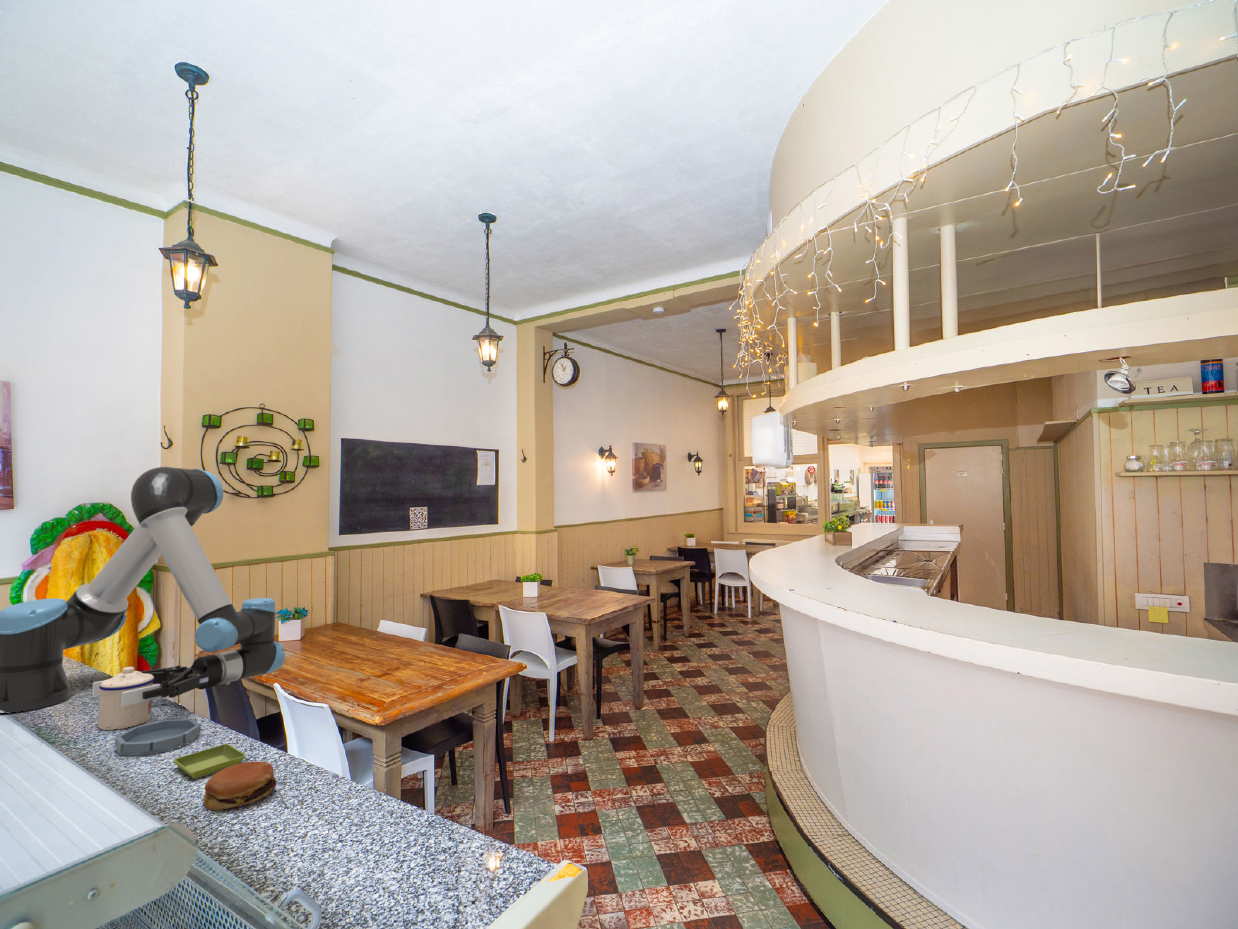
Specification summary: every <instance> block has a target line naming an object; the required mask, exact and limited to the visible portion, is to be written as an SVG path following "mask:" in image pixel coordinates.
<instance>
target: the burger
mask: <svg viewBox="0 0 1238 929" xmlns="http://www.w3.org/2000/svg"><path fill="white" fill-rule="evenodd" d="M274 771H275V770H274V766H273V764H272V763H270V761H247V762H240V763H239V764H236V765H233V766H230V767H227V768H225V769H223V770H221V771H218V772H215V773H213V775H212V776H211V777H210V778H208V780H207V782H206V784H205V786H204V791H205V793H204V796H203V805H204V807H206V808H207V809H208V808H209V809H208V810H210V811H215V810H216V811H224V810H223V809H226V810H228V809H229V808H230V809H233V808H234V807H235V808H237V807H238V806H239V807H241V806H240V805H244V806H247V805H246V804H248V805H250V804H253V802H254V801H256V802H257V801H259V800H261V799H263V798H265V797H266V796H267V797H268V796H269V794H271V792H273V789H275V788H276V786H277V780H276V777H275V775H274ZM262 797H263V798H262ZM254 803H255V802H254Z"/></svg>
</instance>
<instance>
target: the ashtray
mask: <svg viewBox="0 0 1238 929" xmlns="http://www.w3.org/2000/svg"><path fill="white" fill-rule="evenodd" d="M201 726H202V723H200V722H198V721H197V720H195V719H194V718H193V719H192V718H180V719H178V718H177V719H166V720H165V719H164V720H163V719H162V720H159V721H155V722H151V723H144V724H140V725H137V726H135V727H130V728H129V729H128V730H126V731H124V732H122V733H120V734H118V735H116V736H115V737H114V747H115V748H116V754H117V753H118V754H117V755H119V756H122V757H128V756H137V757H146V756H153V754H154V755H157V754H156V753H159V754H163V753H162V752H164V753H166V752H165V751H168V750H171V749H174V750H176V749H175V748H177V747H179V746H183V747H185V746H186V745H185V744H187V743H190V744H192V743H193V742H194V741H195V739H196V740H197V738H199V734H200V733H201ZM192 741H193V742H192ZM184 745H185V746H184ZM171 751H172V750H171ZM168 752H169V751H168Z"/></svg>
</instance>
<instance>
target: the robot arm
mask: <svg viewBox="0 0 1238 929" xmlns="http://www.w3.org/2000/svg"><path fill="white" fill-rule="evenodd" d="M223 488H224V487H223V484H222V482H221V480H220V479H219V478H218V476H216V475H215V474H214V473H212V472H211V471H207V470H202V469H199V468H190V469H189V468H182V467H181V468H180V467H179V468H178V467H169V466H159V467H154V468H151V469H149V470H147V471H144V472H143V473H142V474H141V475H140V476H139V477H138V478H136V480H135V481H134V483H133V485H132V488H131V492H130V502H131V508H132V511H133V513H134V516H135V518H136V520H137V522H138V524H137V526H136V527H135V528H134V529H133V530H132V531H131V532H130V534H129V535H128V537H127V538H125V540H124V541H123V542H122V544H121V545H120V546H119V548H118V549H117V550H116V552H115V553H114V554H113V555H112V556H111V558H110V559H109V560H108V561H107V562H106V564H105V565H104V566H103V567H102V569H100V571H99V572H98V574H97V575H96V576H95V577H94V578H93V579H92V581H91V582H90V583H85V584H81V585H80V586H78V587H77V589H76V590H75V591H74V592H73V594H72V595H71V596H70V597H69V599H67V600H65V599H63V598H56V597H55V598H44V599H43V598H42V599H37V600H35V599H34V600H29V601H24V602H18V603H15V604H13V605H12V604H11V605H9V606H7V607H5V608H3V609H2V610H1V611H0V710H3V711H5V712H9V713H8V714H13V713H12V712H16V713H22V712H21V711H23V712H27V711H34V710H39V709H42V708H46V707H51V706H54V705H57V704H60V703H63V702H65V701H66V700H68V699H70V697H71V692H72V691H71V688H72V687H71V684H70V682H69V679H68V676H67V674H66V671H65V669H64V666H63V665H64V664H63V661H64V660H63V658H64V650H68V649H73V648H76V647H80V646H85V645H89V644H92V643H98V642H100V641H103V640H105V639H107V638H109V637H112V636H114V635H115V634H116V633H118V632H119V631H120V630H121V629H122V628H123V626H124V625H125V622H126V620H127V617H128V616H127V615H126V613H127V612H128V609H127V608H128V606H129V601H128V597H129V596H130V595H131V593H132V592H133V591H134V589H135V588H136V587H137V585H139V583H140V582H141V580H143V578H144V577H145V576H146V574H147V573H148V572H149V571H150V570H151V569H152V567H153V566H154V565H155V563H156V562H157V561H158V560H159V559H160V557H161V556H162V558H163V559H164V561H165V563H166V565H167V567H168V568H169V571H170V572H171V574H172V576H173V578H174V580H175V581H176V583H177V585H178V587H179V590H180V591H181V593H182V595H183V597H184V598H185V600H186V602H187V604H188V606H189V608H190V610H191V612H192V613H193V616H194V617H195V619H196V621H197V623H198V627H197V628H196V629H195V635H194V636H195V639H194V641H195V643H196V646H198V648H199V649H200V650H202V651H204V652H206V653H207V652H209V653H213V652H218V653H215V654H209V655H203V656H199V657H197V658H196V659H195V660H193V663H192V664H191V666H190V667H188V666H182V665H175V666H171V667H163V668H155V669H148V670H139V672H141V673H144V674H151V675H153V677H154V681H153V685H152V686H148V687H144V688H139V689H135V690H130V691H126V692H122V700H121V706H127V705H131V704H135V703H139V702H143V701H147V700H151V699H152V700H154V699H158V698H159V699H160V697H161V698H166V697H168V698H171V699H173V698H175V697H176V698H177V696H180V695H182V694H185V693H188V692H191V691H193V690H195V689H198V690H205V689H209V688H212V687H216V686H218V685H219V686H220V685H223V684H224V685H226V686H229V685H230V684H231V682H236V681H240V680H245V679H249V678H254V677H257V676H264V675H267V674H268V673H269V674H270V673H272V672H275V671H277V670H280V669H281V668H282V666H283V665H284V663H285V659H286V653H285V652H284V646H283V645H282V644H281V643H280V642H279V641H275V631H276V630H275V628H276V614H277V612H276V601H275V600H274V599H273V598H270V597H257V598H250V599H245V600H244V601H243V602H242V603H241V607H240V608H241V609H240V610H239V611H236V609H235V606H234V605H233V603H232V601H231V599H230V597H229V596H228V594H227V592H226V590H225V588H224V587H223V584H222V583H221V581H220V578H219V577H218V575H217V573H216V571H215V570H214V568H213V566H212V564H211V562H210V560H209V558H208V556H207V555H206V553H205V551H204V549H203V547H202V545H201V543H200V541H199V540H198V538H197V535H196V533H195V532H194V529H193V528H192V527H193V526H195V524H196V523H197V522H198V520H199V519H200V518H201V516H203V514H204V515H205V514H209V513H211V512H214V511H215V510H217V509H218V508H219V507H220V506H221V504H222V502H223V499H224V495H225V494H224V492H225V491H224V489H223ZM236 645H240V648H238V649H231V647H233V646H236ZM226 649H227V651H224V650H226ZM229 649H231V650H229ZM222 650H223V651H222ZM219 651H222V652H219ZM105 680H106V679H104V680H100V681H99V680H98V681H95V682H92V694H91V695H92V696H93V697H96V696H100V694H101V689H100V688H99V687H100V685H101V683H102V682H103V681H105Z"/></svg>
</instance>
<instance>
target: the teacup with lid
mask: <svg viewBox="0 0 1238 929" xmlns="http://www.w3.org/2000/svg"><path fill="white" fill-rule="evenodd" d="M139 671H140V670H139ZM139 671H138V670H135V667H134V666H126V667H123V668H122V669H121V672H120V673H117V674H116V675H114V676H113V677H111V678H107V679H104V680H105V681H104V680H102V681H103V682H102V683H101V685H100V687H99V688H100V689H101V694H100V695H99V712H98V713H99V715H98V728H99V729H101V730H104V731H115V730H114V729H119V730H124V728H125V729H128V727H130V728H132V727H131V726H134V727H137V726H139V725H138V724H140V725H142V724H141V723H143V724H145V723H147V722H148V721H150V720H151V717H152V707H153V706H152V703H153V702H152V701H153V699H151V700H147V701H143V702H139V703H135V704H131V705H127V706H121V700H122V692H126V691H130V690H135V689H139V688H144V687H148V686H152V685H154V684H153V681H154V677H153V675H151V674H144V673H141V672H139ZM144 722H145V723H144ZM136 725H137V726H136Z"/></svg>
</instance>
